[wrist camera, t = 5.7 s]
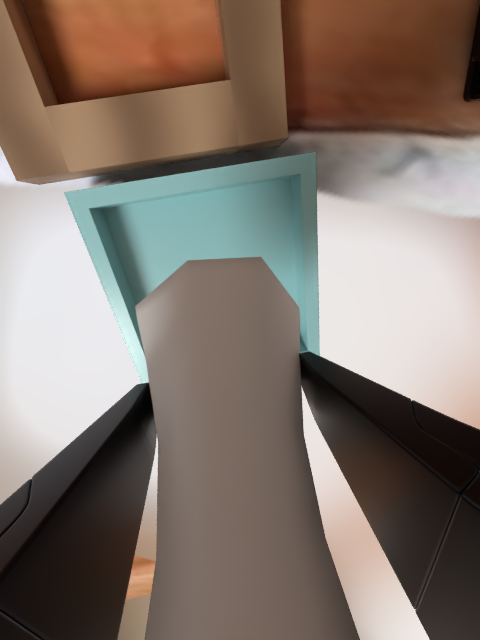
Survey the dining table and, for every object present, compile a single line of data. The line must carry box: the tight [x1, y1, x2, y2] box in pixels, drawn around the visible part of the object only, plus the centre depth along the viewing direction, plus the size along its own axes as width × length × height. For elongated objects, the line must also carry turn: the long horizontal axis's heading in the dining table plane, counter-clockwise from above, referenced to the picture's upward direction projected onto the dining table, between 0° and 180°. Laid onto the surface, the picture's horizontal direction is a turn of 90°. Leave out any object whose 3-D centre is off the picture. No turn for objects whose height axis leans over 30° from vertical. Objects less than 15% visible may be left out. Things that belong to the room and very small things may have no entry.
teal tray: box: [65, 152, 320, 383], centre depth 18 cm, size 15×15×2 cm
